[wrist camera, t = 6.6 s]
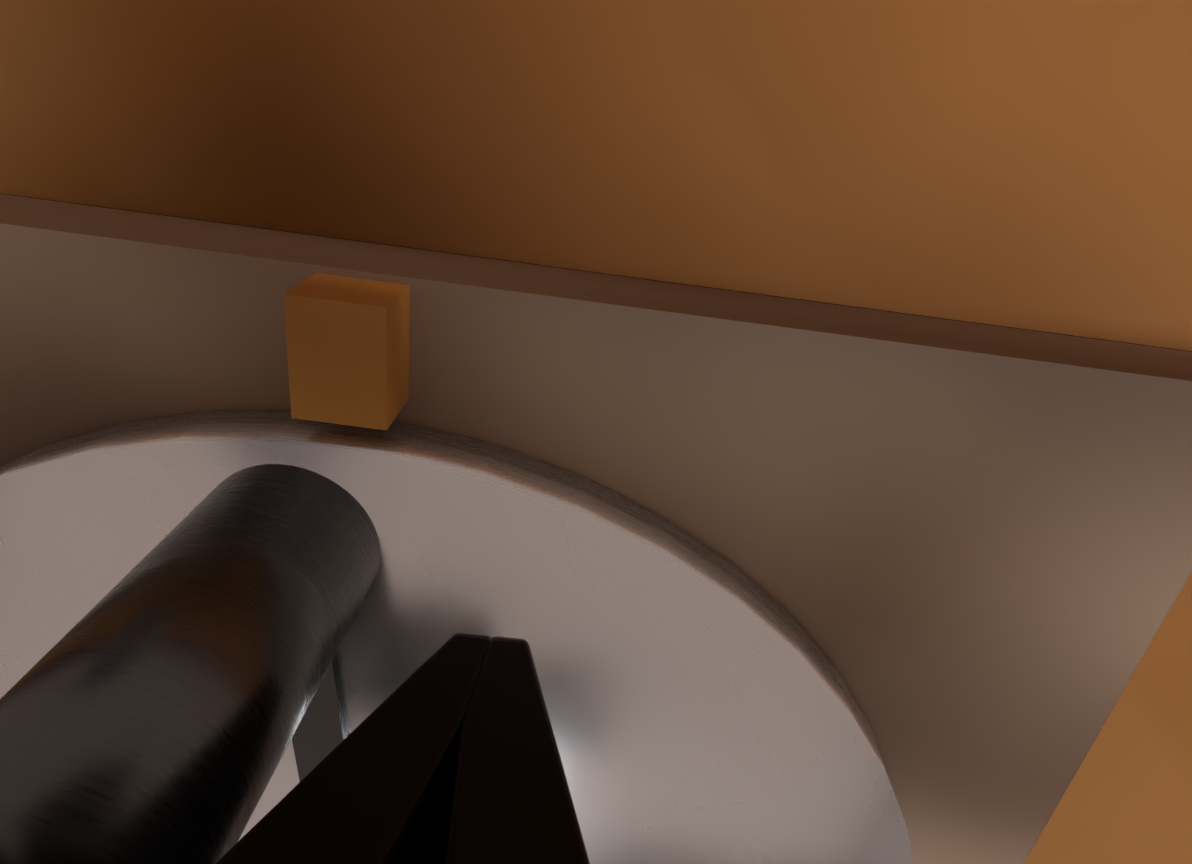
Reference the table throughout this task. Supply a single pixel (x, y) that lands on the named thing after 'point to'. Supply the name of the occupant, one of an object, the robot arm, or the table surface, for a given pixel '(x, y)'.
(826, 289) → the table surface
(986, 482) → the walnut stand
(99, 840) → the dial
